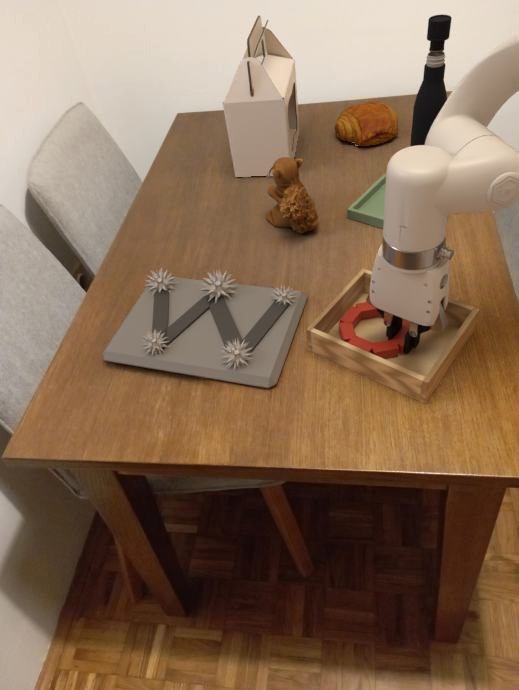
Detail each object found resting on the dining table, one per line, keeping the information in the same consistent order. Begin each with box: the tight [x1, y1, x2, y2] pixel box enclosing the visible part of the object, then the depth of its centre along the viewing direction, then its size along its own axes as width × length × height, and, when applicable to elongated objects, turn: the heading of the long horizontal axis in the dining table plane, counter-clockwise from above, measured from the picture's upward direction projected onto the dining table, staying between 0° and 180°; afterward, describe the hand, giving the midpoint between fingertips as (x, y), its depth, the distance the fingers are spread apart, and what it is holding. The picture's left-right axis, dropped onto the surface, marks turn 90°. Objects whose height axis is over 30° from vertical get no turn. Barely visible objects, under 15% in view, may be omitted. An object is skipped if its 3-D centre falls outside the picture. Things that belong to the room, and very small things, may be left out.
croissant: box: [334, 100, 399, 147], centre depth 127 cm, size 14×16×8 cm
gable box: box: [222, 15, 301, 178], centre depth 119 cm, size 22×13×28 cm, turn 172°
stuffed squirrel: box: [264, 157, 320, 234], centre depth 103 cm, size 10×14×13 cm
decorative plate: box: [101, 267, 308, 389], centre depth 87 cm, size 30×22×7 cm
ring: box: [339, 302, 410, 359], centre depth 82 cm, size 11×11×2 cm
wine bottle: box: [409, 14, 452, 147], centre depth 103 cm, size 6×6×30 cm
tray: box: [346, 172, 386, 230], centre depth 106 cm, size 16×16×2 cm
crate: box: [305, 267, 480, 404], centre depth 80 cm, size 20×17×5 cm
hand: (402, 343), depth 80 cm, fingers closed on ring, 2 cm apart
